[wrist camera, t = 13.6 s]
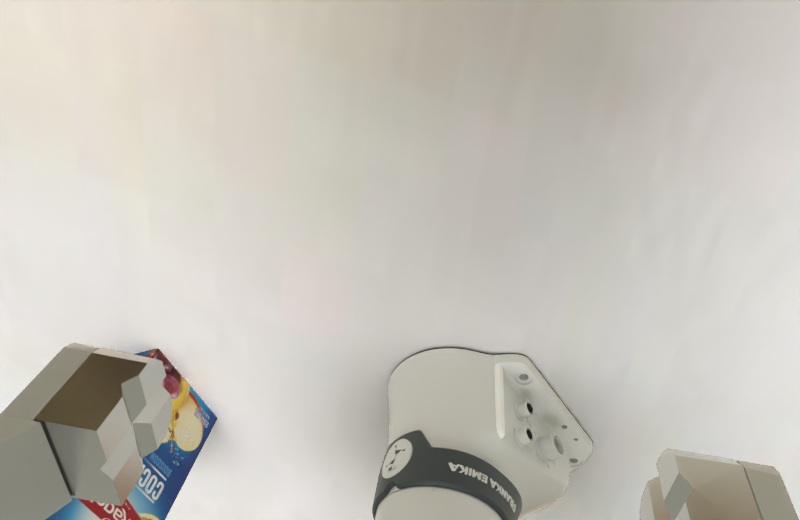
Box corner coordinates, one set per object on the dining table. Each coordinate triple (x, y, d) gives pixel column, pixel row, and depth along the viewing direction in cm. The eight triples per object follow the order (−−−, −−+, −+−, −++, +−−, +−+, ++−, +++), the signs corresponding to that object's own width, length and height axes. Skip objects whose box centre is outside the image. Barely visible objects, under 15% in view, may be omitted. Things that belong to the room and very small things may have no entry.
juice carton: (217, 418, 72) (105, 636, 53) (170, 427, 75) (47, 636, 56) (157, 347, 66) (7, 563, 47) (108, 359, 69) (-53, 568, 50)
